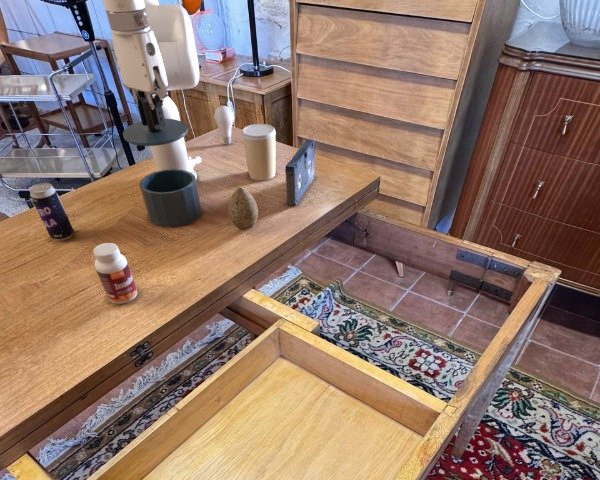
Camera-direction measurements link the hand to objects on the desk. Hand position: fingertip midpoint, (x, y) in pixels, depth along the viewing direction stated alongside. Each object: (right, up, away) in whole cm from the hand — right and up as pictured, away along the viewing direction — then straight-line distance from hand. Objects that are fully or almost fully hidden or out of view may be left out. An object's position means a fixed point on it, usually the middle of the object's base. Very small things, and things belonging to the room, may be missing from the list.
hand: (154, 124), depth 100 cm
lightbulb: (+9, +21, +45) cm, 51 cm away
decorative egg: (+19, -20, +11) cm, 30 cm away
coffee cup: (+22, +4, +30) cm, 38 cm away
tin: (0, -14, +16) cm, 21 cm away
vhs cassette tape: (+34, -4, +23) cm, 41 cm away
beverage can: (-26, -22, +10) cm, 35 cm away
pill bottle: (-4, -41, -6) cm, 41 cm away
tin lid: (0, -1, +1) cm, 2 cm away
